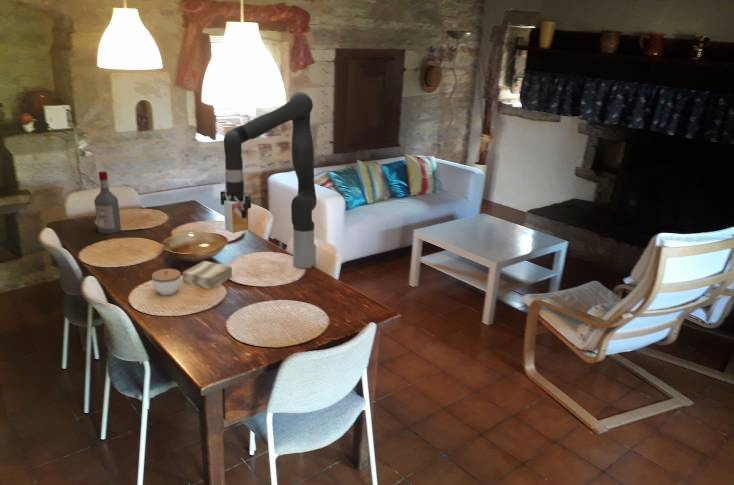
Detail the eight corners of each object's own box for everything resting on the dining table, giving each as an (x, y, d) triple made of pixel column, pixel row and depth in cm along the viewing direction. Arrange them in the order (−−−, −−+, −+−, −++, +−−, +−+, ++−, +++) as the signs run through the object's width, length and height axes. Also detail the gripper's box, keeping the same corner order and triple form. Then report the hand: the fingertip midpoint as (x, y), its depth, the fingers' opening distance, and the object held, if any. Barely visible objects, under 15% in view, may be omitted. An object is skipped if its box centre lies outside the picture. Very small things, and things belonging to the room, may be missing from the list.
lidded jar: (152, 299, 221) (150, 276, 218) (154, 287, 231) (152, 265, 227) (181, 296, 224) (180, 274, 221) (182, 285, 234) (180, 264, 230)
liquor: (113, 234, 283) (106, 175, 273) (95, 232, 284) (88, 173, 274) (123, 228, 292) (116, 171, 281) (106, 227, 293) (99, 169, 282)
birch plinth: (231, 277, 244) (231, 266, 242) (211, 290, 231) (210, 279, 230) (204, 271, 248) (204, 260, 247) (183, 283, 236) (182, 272, 234)
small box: (233, 233, 244) (231, 204, 239) (225, 229, 248) (223, 200, 243) (249, 229, 249) (248, 200, 244) (241, 225, 253) (239, 197, 249)
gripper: (254, 179, 241) (255, 216, 247) (226, 175, 246) (228, 211, 252) (243, 183, 234) (245, 221, 240) (215, 178, 240) (217, 216, 246)
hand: (236, 216), depth 246 cm, fingers closed on small box, 7 cm apart
